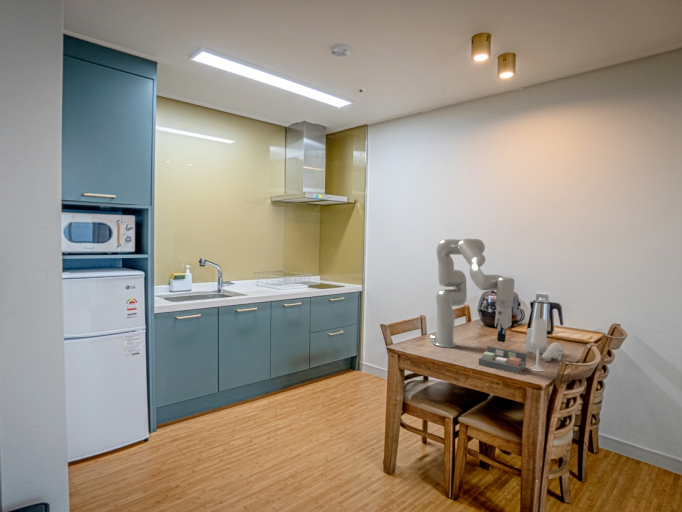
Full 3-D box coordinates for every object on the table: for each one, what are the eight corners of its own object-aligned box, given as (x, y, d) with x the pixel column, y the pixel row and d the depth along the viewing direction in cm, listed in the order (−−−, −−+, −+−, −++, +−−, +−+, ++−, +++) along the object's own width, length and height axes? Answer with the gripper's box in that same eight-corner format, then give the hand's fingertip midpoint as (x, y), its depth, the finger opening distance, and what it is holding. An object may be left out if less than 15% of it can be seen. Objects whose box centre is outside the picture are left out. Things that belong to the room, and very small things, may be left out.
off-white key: (494, 363, 190) (495, 358, 190) (497, 361, 194) (498, 356, 194) (504, 366, 187) (504, 360, 187) (507, 363, 191) (507, 358, 191)
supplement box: (537, 354, 214) (538, 331, 214) (525, 350, 221) (526, 328, 220) (546, 353, 218) (547, 330, 217) (534, 349, 224) (535, 327, 224)
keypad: (478, 364, 193) (479, 350, 193) (487, 359, 202) (488, 345, 202) (518, 374, 181) (519, 358, 181) (525, 367, 191) (526, 353, 190)
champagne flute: (526, 367, 192) (529, 317, 191) (540, 367, 192) (542, 317, 191) (534, 371, 185) (536, 320, 184) (548, 372, 185) (551, 320, 184)
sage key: (482, 358, 194) (482, 353, 194) (485, 356, 197) (485, 351, 197) (491, 360, 191) (491, 355, 191) (494, 358, 195) (495, 353, 194)
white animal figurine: (564, 343, 204) (549, 348, 198) (564, 360, 205) (550, 365, 199) (553, 340, 210) (538, 345, 204) (553, 356, 210) (538, 361, 205)
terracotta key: (507, 364, 186) (508, 358, 186) (511, 362, 190) (511, 356, 190) (518, 366, 183) (518, 360, 183) (521, 364, 187) (521, 358, 187)
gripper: (507, 306, 181) (504, 346, 183) (517, 302, 193) (514, 340, 194) (490, 303, 186) (487, 342, 187) (501, 300, 197) (498, 336, 199)
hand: (501, 341), depth 191 cm, fingers closed
